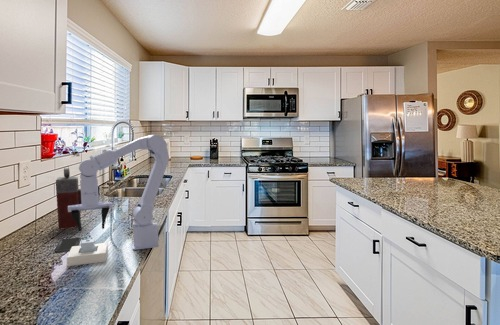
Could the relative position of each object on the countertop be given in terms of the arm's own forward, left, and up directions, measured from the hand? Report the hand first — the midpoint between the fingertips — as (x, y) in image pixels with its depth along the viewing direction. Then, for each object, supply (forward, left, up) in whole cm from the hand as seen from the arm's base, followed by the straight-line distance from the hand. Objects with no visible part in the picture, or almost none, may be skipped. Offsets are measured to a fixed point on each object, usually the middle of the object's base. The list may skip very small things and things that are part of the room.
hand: (91, 229), depth 125 cm
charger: (+1, +4, -9) cm, 10 cm away
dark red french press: (+13, -47, -10) cm, 50 cm away
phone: (+10, -14, -10) cm, 20 cm away
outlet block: (+1, +4, -9) cm, 10 cm away
